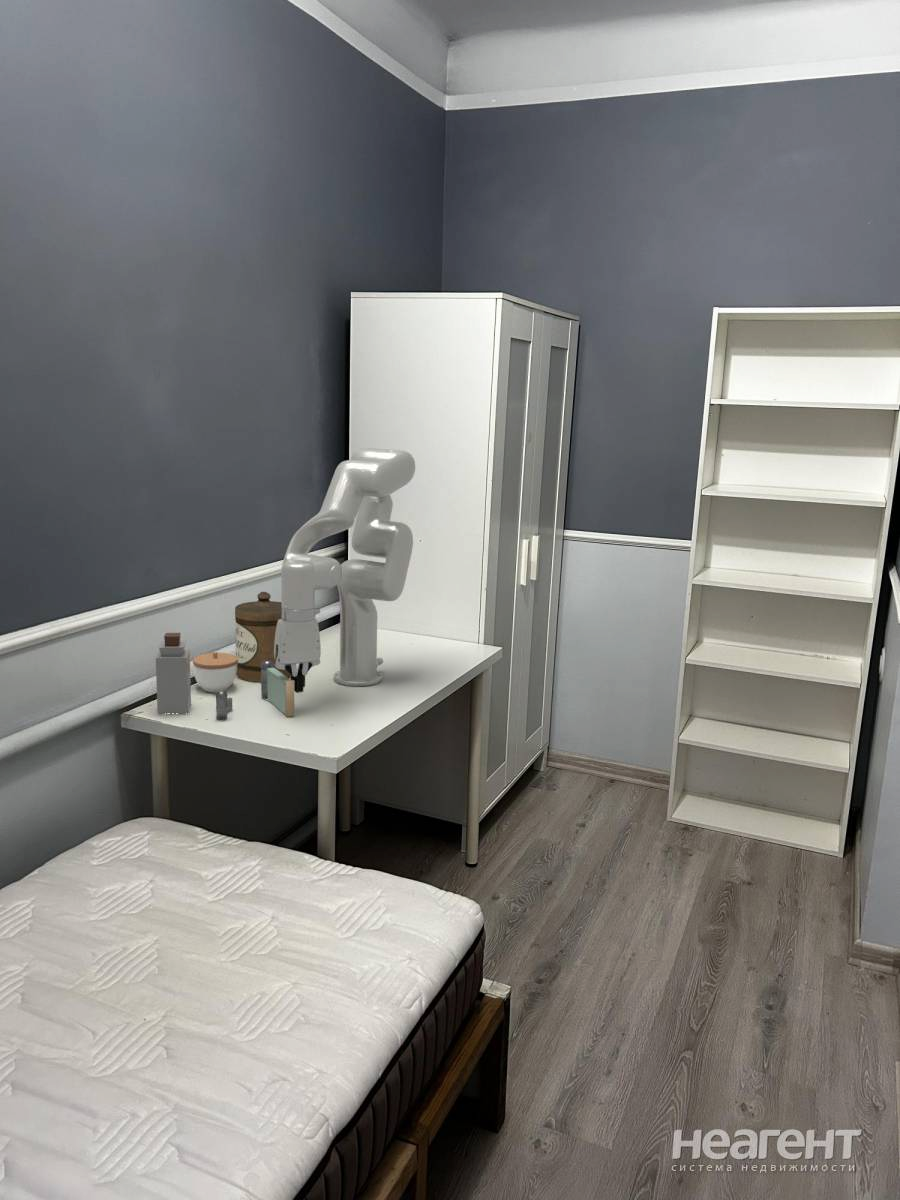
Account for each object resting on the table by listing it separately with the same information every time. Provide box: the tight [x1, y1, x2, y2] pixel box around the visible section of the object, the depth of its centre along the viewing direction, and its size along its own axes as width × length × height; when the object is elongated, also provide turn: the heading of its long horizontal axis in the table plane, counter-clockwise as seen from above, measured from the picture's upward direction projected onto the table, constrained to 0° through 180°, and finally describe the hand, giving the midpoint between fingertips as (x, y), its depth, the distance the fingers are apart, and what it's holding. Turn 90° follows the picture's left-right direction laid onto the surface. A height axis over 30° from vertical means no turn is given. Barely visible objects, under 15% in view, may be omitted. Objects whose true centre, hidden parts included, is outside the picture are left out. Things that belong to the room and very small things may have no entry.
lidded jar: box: [192, 651, 238, 693], centre depth 232 cm, size 11×11×9 cm
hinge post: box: [260, 660, 274, 701], centre depth 226 cm, size 3×3×10 cm
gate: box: [267, 668, 295, 717], centre depth 219 cm, size 14×2×8 cm, turn 31°
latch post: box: [215, 691, 233, 721], centre depth 213 cm, size 7×4×7 cm, turn 154°
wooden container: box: [234, 591, 291, 683], centre depth 243 cm, size 15×15×22 cm
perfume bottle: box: [155, 632, 192, 715], centre depth 215 cm, size 7×7×18 cm
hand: (297, 690), depth 218 cm, fingers closed
